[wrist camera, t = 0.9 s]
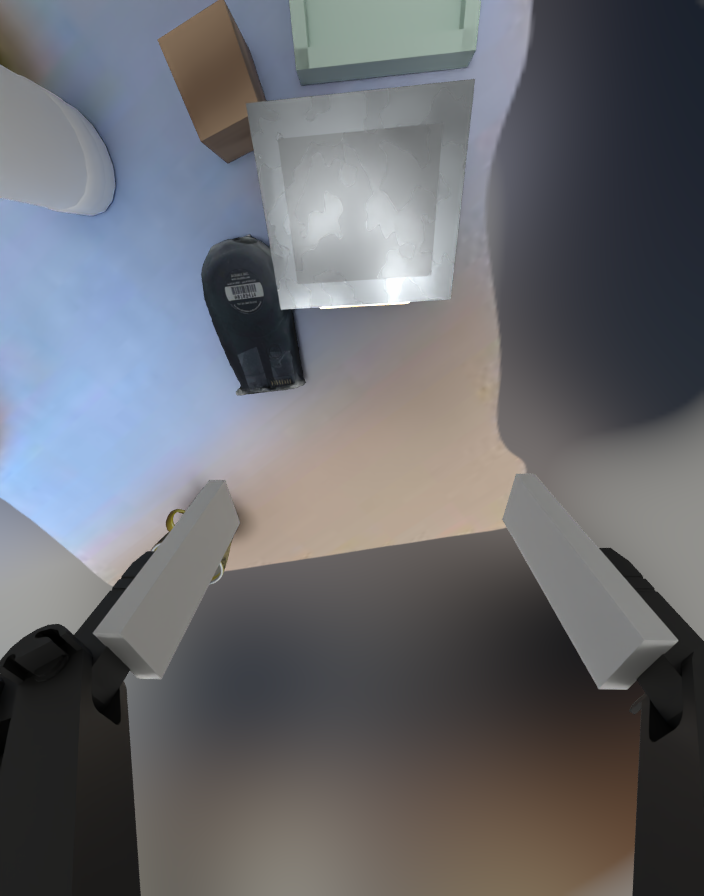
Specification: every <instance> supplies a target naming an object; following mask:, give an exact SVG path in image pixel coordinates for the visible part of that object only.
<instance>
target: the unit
mask: <svg viewBox="0 0 704 896" xmlns="http://www.w3.org/2000/svg"><path fill="white" fill-rule="evenodd" d="M474 83H475V79H470V80H461V81H452V82H442V83H433V84H423V85H414V86H404V87H395V88H385V89H376V90H367V91H357V92H348V93H338V94H329V95H319V96H310V97H300V98H291V99H281V100H272V101H263V102H253V103H246V108H247V114H248V120H249V126H250V131H251V137H252V143H253V149H254V155H255V161H256V167H257V173H258V178H259V184H260V190H261V196H262V202H263V208H264V214H265V220H266V225H267V231H268V237H269V243H270V249H271V255H272V261H273V267H274V272H275V278H276V284H277V290H278V296H279V302H280V308H281V310H283V309H300V308H316V307H320V309H327V308H344V307H360V306H377V305H393V304H408V303H409V302H415V301H431V300H448V299H451V291H452V282H453V273H454V264H455V255H456V246H457V237H458V228H459V219H460V210H461V201H462V192H463V183H464V174H465V164H466V155H467V146H468V137H469V128H470V119H471V110H472V101H473V92H474Z"/></svg>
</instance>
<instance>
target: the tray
mask: <svg viewBox="0 0 704 896" xmlns="http://www.w3.org/2000/svg"><path fill="white" fill-rule="evenodd" d="M289 5H290V15H291V25H292V34H293V44H294V54H295V63H296V71H297V74H298V77H299V80H300V83H301V85H309V84H319V83H328V82H337V81H346V80H355V79H365V78H374V77H383V76H392V75H402V74H411V73H420V72H429V71H438V70H448V69H457V68H466V67H468V65H469V63H470V61H471V59H472V57H473V55H474V53H475V51H476V43H477V34H478V25H479V15H480V6H481V0H289Z"/></svg>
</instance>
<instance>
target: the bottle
mask: <svg viewBox="0 0 704 896" xmlns="http://www.w3.org/2000/svg"><path fill="white" fill-rule="evenodd" d="M114 191H115V177H114V169H113V165H112V162H111V159H110V156H109V154H108V151H107V148H106V146H105V144H104V142H103V141H102V139H101V138H100V136H99V134H98V133H97V131H96V130H95V128H94V127H93V125H92V124H91V123H90V122H89V121H88V120H87V119H86V118H85V117H84V116H83V115H82V114H81V113H80V112H79V111H78V110H77V109H76V108H75V107H73V106H71V105H69V104H68V103H66V102H64V101H63V100H62V99H61V98H60V97H58V96H57V95H55V94H53V93H52V92H50V91H48V90H47V89H45V88H43V87H41V86H40V85H38V84H36V83H35V82H33V81H31V80H29V79H27V78H26V77H24V76H22V75H17V74H16V73H14V72H12V71H10V70H9V69H7V68H5V67H4V66H2V65H0V198H3V199H7V200H12V201H17V202H22V203H27V204H31V205H36V206H41V207H46V208H48V209H50V210H54V211H58V212H64V213H72V214H79V215H88V216H94V215H97V214H100V213H102V212H105V210H106V209H107V208H108V206H109V205H110V204H111V202H112V200H113V196H114Z"/></svg>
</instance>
